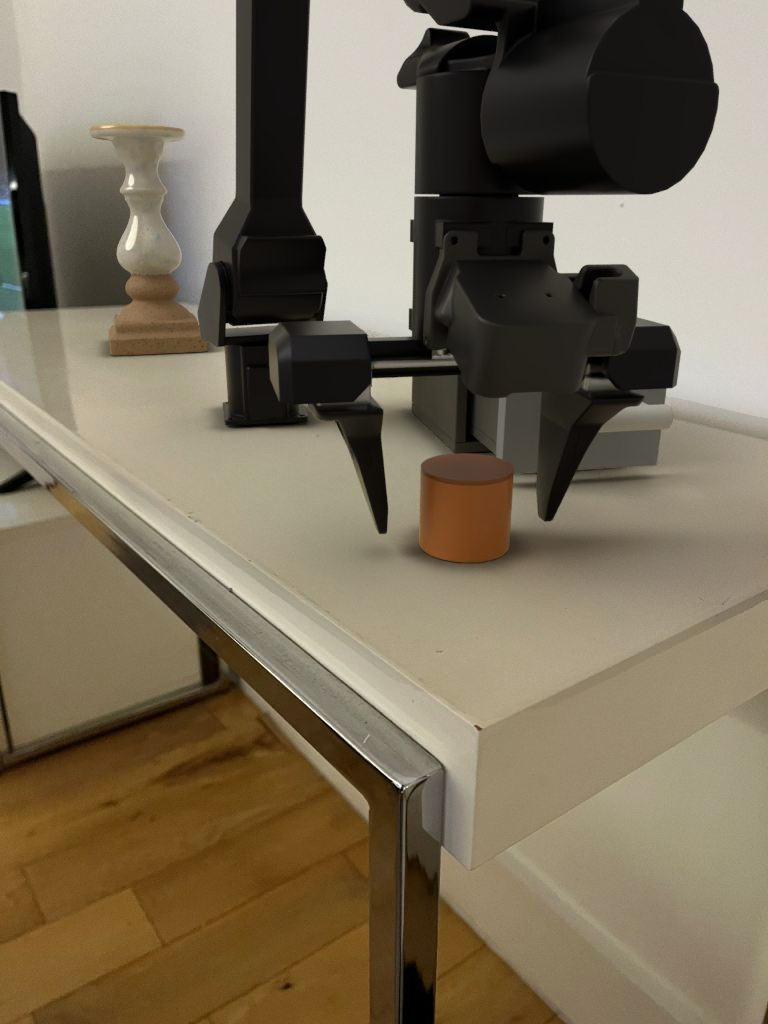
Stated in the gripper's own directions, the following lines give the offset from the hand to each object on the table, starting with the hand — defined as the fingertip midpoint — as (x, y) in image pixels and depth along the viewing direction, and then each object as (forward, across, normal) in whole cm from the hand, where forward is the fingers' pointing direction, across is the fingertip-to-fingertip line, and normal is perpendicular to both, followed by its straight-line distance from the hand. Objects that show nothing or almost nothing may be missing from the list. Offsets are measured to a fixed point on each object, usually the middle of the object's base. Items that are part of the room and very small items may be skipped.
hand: (464, 525), depth 42 cm
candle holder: (+1, -18, +66) cm, 68 cm away
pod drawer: (0, +10, +11) cm, 15 cm away
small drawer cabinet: (+1, +10, +22) cm, 24 cm away
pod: (+1, 0, 0) cm, 1 cm away
